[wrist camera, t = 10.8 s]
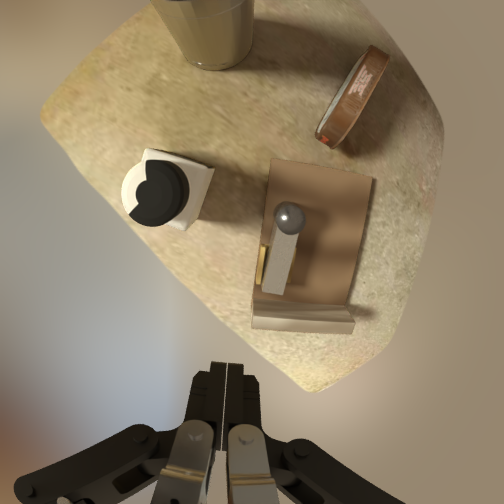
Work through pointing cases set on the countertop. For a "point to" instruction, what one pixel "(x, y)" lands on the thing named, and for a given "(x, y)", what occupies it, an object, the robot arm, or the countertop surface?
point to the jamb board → (313, 248)
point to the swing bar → (282, 246)
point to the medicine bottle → (166, 189)
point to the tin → (352, 97)
